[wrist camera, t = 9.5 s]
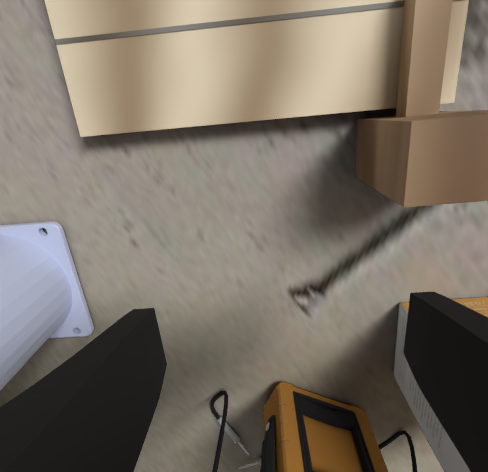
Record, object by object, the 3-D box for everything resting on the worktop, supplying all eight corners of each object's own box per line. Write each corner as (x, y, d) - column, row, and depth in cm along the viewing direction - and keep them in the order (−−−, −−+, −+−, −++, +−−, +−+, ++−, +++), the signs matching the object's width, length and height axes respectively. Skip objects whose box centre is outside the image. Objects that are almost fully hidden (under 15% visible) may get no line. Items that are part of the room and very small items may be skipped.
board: (91, 135, 17) (80, 137, 16) (41, -69, 14) (21, -85, 12) (439, 103, 16) (454, 102, 14) (469, -125, 13) (490, -149, 11)
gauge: (354, 177, 17) (403, 207, 12) (360, 3, 14) (429, -69, 9) (429, 170, 17) (516, 198, 11) (451, -8, 14) (581, -89, 8)
